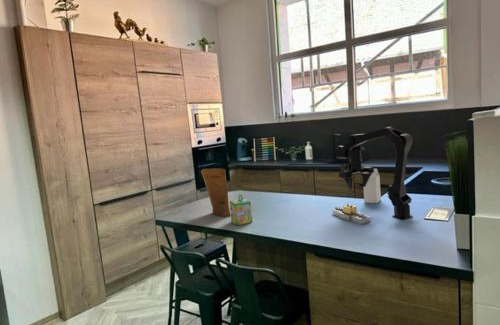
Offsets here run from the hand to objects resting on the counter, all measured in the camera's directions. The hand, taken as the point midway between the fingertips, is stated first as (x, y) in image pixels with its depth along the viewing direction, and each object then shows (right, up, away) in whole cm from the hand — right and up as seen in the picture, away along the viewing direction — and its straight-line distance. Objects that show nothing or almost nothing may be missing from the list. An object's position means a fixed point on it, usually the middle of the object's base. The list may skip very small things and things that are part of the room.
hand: (357, 188), depth 176 cm
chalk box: (-61, -18, +3) cm, 63 cm away
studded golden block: (-6, -14, -9) cm, 18 cm away
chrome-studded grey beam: (-6, -14, -9) cm, 18 cm away
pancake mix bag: (-74, -17, +21) cm, 79 cm away
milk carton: (+14, -9, +15) cm, 22 cm away
